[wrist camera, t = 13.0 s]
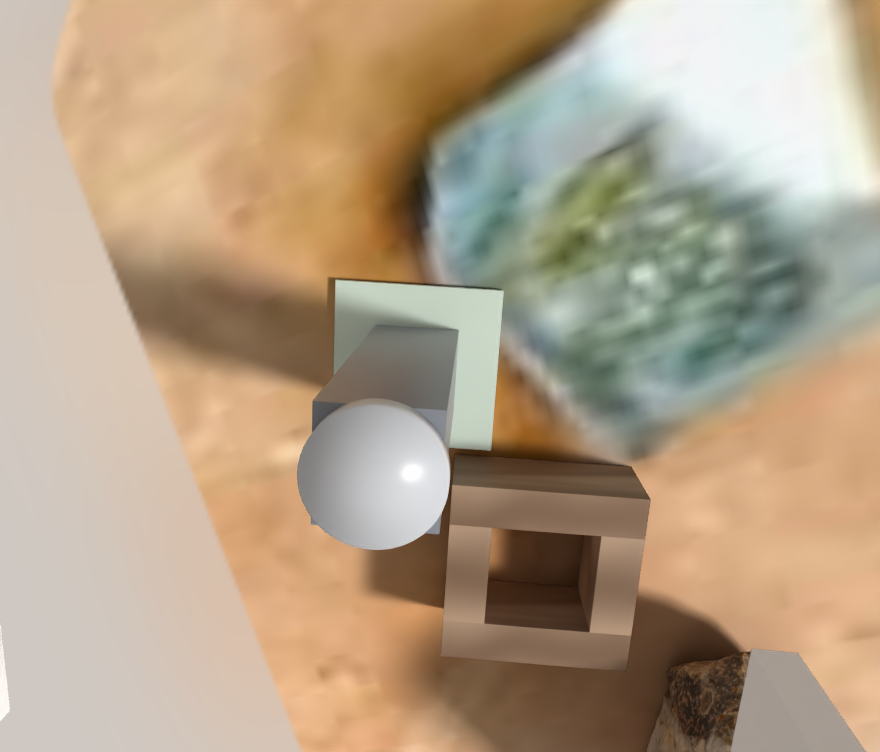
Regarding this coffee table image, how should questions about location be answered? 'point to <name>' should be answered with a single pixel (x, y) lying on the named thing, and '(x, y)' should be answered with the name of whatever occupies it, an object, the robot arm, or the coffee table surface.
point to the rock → (701, 706)
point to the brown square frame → (538, 605)
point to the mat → (442, 310)
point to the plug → (383, 439)
